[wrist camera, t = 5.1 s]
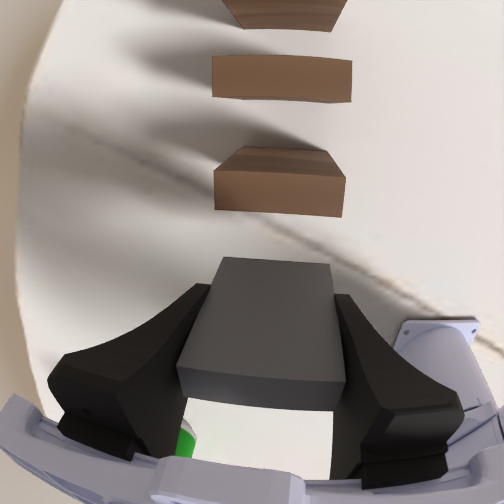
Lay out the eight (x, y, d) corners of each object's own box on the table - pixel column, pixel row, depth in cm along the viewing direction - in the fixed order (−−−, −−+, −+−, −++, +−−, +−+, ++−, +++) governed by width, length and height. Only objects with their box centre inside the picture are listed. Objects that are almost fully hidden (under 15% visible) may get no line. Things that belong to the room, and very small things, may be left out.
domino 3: (325, 177, 18) (341, 217, 12) (242, 172, 18) (214, 209, 12) (327, 151, 17) (346, 177, 11) (242, 146, 18) (213, 170, 12)
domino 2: (329, 103, 16) (350, 102, 10) (243, 99, 16) (212, 96, 10) (330, 77, 15) (352, 60, 9) (243, 73, 16) (212, 56, 9)
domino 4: (324, 292, 15) (335, 411, 9) (224, 284, 16) (183, 396, 9) (329, 263, 14) (346, 381, 8) (223, 256, 15) (175, 365, 9)
